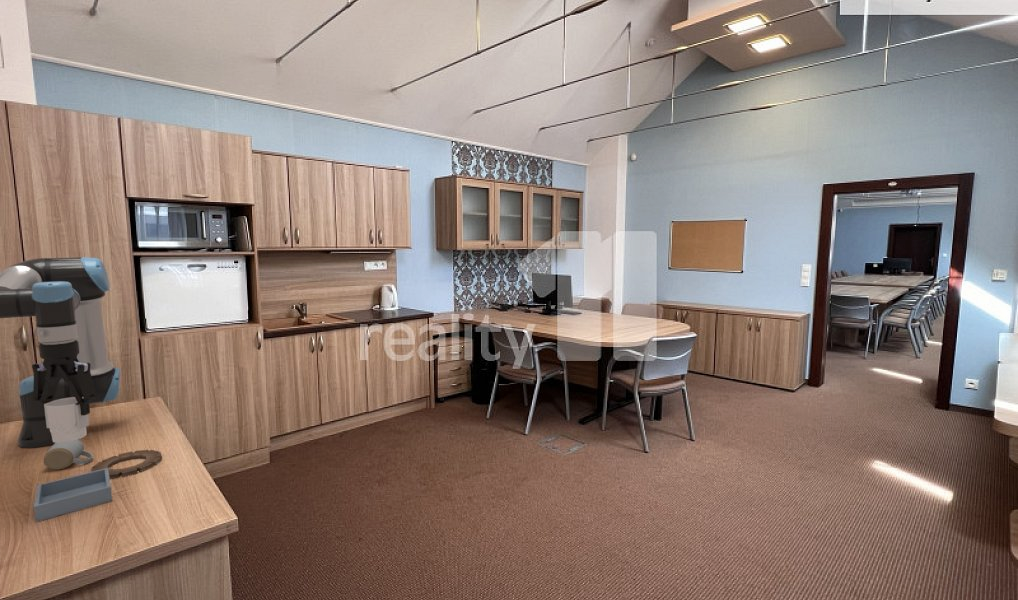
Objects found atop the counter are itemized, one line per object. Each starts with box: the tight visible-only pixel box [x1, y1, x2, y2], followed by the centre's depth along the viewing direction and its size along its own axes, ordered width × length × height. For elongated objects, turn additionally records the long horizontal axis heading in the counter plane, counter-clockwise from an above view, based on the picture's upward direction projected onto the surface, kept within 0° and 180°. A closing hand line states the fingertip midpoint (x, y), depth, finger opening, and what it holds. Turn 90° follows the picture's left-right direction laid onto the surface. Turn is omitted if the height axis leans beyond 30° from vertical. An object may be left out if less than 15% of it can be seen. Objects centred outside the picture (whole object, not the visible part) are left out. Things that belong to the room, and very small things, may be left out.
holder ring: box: [90, 449, 163, 480], centre depth 148 cm, size 17×17×1 cm
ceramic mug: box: [43, 439, 94, 471], centre depth 149 cm, size 11×8×8 cm
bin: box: [33, 468, 113, 523], centre depth 128 cm, size 15×15×4 cm
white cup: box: [45, 397, 87, 443], centre depth 126 cm, size 8×8×10 cm
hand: (68, 426), depth 126 cm, fingers closed on white cup, 8 cm apart
